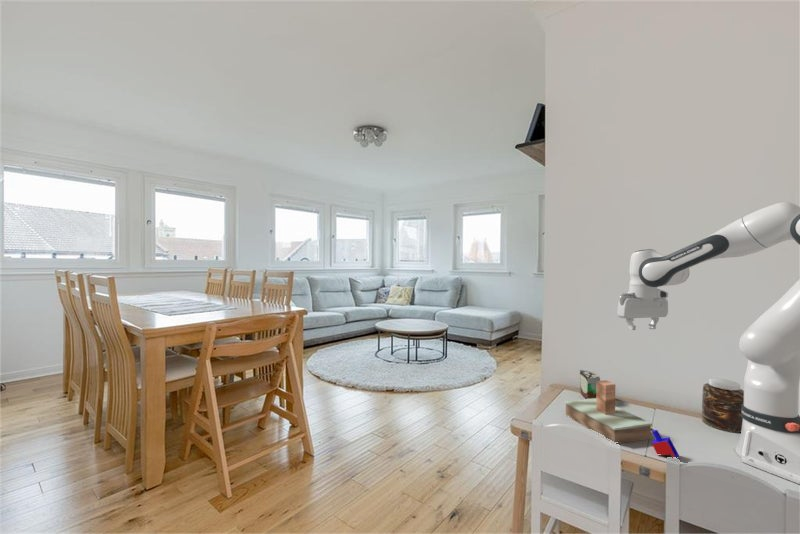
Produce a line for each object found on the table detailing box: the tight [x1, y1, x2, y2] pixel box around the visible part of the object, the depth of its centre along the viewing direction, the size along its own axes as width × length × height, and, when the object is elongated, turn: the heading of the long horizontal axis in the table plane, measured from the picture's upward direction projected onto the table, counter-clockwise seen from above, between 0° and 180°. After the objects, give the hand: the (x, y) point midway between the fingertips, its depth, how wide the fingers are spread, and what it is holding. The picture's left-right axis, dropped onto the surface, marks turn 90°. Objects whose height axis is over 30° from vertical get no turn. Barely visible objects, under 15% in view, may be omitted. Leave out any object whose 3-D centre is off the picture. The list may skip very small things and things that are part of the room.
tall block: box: [596, 380, 616, 415], centre depth 126 cm, size 4×4×10 cm
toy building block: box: [651, 429, 680, 458], centre depth 108 cm, size 4×4×8 cm
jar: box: [701, 377, 744, 434], centre depth 128 cm, size 12×12×15 cm
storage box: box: [564, 398, 653, 444], centre depth 127 cm, size 23×15×5 cm, turn 14°
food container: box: [579, 369, 601, 399], centre depth 152 cm, size 12×6×10 cm, turn 168°
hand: (642, 329), depth 139 cm, fingers open, 8 cm apart
